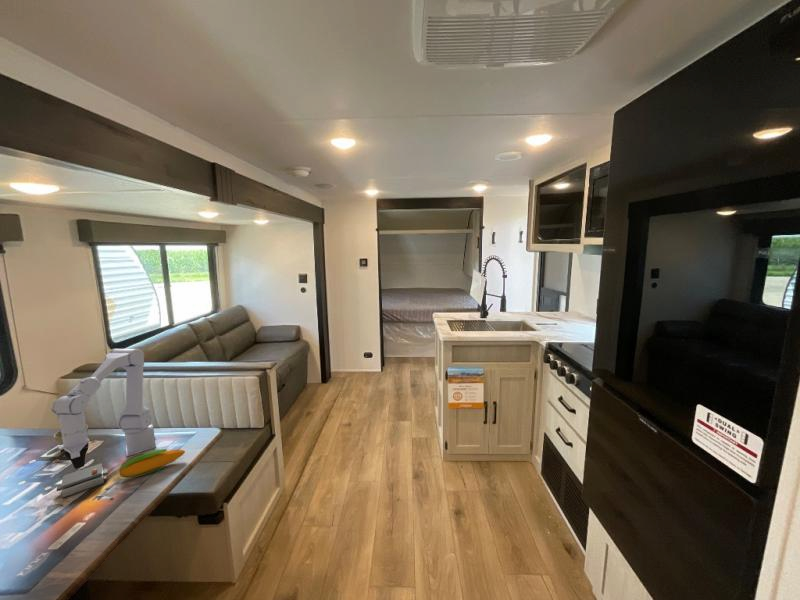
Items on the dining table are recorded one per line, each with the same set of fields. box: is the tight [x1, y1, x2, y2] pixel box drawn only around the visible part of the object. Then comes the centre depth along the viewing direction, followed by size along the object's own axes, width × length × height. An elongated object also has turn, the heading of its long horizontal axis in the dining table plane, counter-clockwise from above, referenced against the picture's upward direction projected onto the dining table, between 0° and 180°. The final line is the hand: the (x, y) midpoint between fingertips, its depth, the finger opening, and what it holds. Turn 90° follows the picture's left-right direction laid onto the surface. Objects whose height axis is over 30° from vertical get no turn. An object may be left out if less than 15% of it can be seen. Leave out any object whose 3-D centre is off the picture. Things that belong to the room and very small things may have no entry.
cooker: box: [56, 467, 109, 500], centre depth 113 cm, size 13×8×3 cm, turn 133°
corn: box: [118, 448, 186, 479], centre depth 122 cm, size 7×8×20 cm
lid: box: [60, 463, 103, 489], centre depth 113 cm, size 10×8×2 cm
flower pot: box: [53, 424, 89, 446], centre depth 134 cm, size 10×10×7 cm
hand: (79, 466), depth 108 cm, fingers closed
